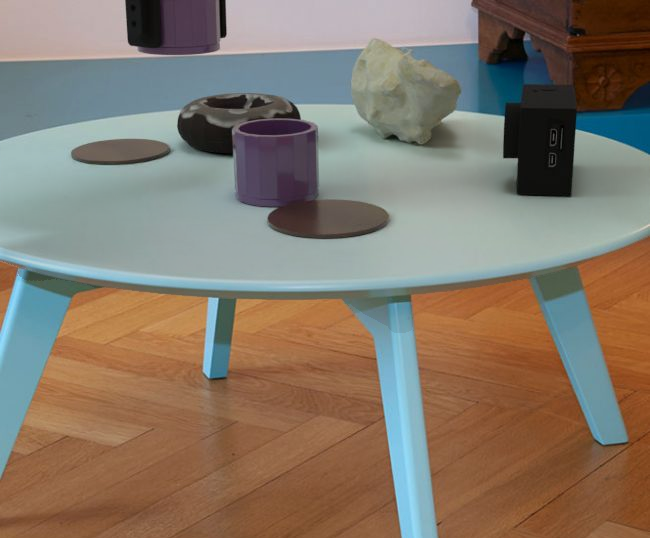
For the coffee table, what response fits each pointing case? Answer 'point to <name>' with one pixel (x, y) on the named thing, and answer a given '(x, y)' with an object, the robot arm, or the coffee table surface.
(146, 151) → the coaster
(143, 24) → the robot arm
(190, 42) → the ramekin
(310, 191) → the ramekin
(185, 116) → the donut
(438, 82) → the pale rock
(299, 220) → the coaster
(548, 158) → the digital camera
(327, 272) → the coffee table surface
